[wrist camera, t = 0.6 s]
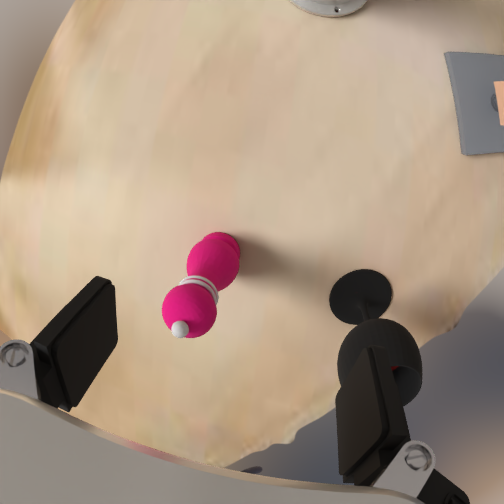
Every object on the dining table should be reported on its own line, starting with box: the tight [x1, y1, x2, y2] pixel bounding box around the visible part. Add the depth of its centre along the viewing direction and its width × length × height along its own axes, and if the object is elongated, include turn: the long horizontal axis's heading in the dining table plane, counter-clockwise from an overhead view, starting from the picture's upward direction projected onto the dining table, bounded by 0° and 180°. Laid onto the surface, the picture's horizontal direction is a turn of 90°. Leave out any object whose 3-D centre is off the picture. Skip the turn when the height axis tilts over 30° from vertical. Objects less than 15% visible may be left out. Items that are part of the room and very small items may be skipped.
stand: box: [444, 52, 504, 155], centre depth 32 cm, size 15×15×2 cm
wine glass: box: [329, 269, 422, 406], centre depth 40 cm, size 10×10×20 cm
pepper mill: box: [162, 232, 240, 338], centre depth 39 cm, size 7×7×20 cm
